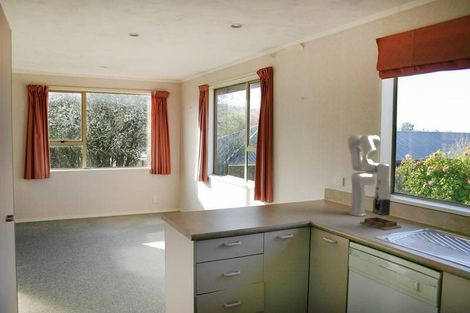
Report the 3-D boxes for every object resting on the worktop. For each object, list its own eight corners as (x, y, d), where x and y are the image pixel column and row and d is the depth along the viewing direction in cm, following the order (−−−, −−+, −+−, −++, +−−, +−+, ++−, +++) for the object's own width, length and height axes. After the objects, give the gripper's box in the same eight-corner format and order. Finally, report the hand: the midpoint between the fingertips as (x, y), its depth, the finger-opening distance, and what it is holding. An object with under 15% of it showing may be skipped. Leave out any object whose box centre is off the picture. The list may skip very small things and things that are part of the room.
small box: (390, 215, 247) (391, 199, 246) (381, 215, 246) (382, 199, 245) (380, 212, 257) (381, 197, 257) (372, 212, 256) (372, 197, 255)
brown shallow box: (360, 223, 257) (360, 218, 256) (376, 221, 265) (376, 216, 265) (385, 230, 239) (385, 224, 239) (401, 227, 248) (401, 222, 247)
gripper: (378, 183, 243) (377, 211, 244) (396, 182, 251) (394, 209, 252) (368, 182, 249) (367, 209, 250) (386, 181, 258) (385, 207, 259)
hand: (381, 208), depth 251 cm, fingers closed on small box, 7 cm apart
